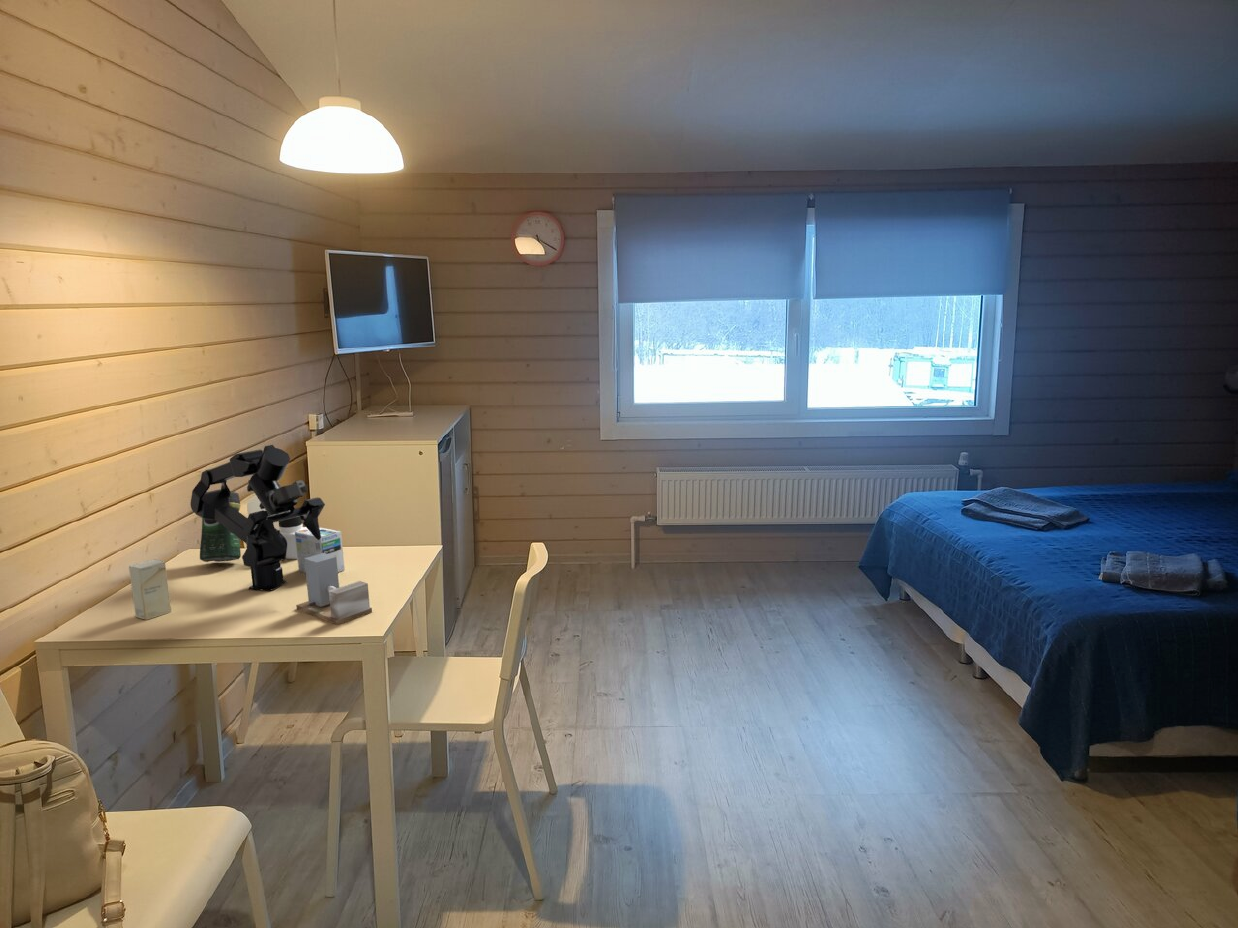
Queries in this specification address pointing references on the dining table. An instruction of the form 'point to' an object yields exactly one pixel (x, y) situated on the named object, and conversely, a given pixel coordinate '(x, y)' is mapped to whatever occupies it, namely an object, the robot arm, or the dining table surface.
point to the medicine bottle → (291, 534)
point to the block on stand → (342, 604)
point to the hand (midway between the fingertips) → (302, 543)
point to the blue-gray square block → (321, 578)
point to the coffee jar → (220, 538)
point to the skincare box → (150, 589)
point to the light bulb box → (319, 546)
